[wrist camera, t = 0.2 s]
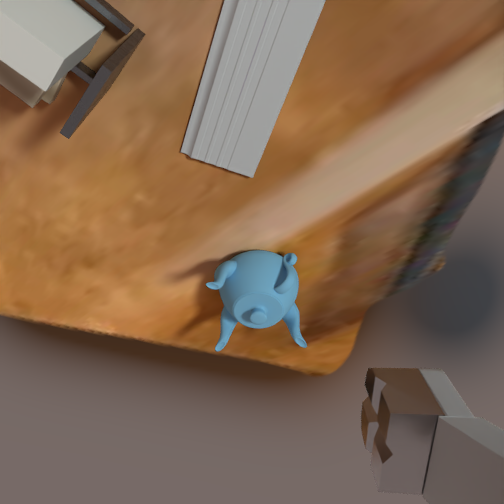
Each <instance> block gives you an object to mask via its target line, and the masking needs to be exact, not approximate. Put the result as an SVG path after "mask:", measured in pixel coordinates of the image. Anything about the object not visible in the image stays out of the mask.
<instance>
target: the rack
mask: <svg viewBox="0 0 504 504" xmlns="http://www.w3.org/2000/svg"><path fill="white" fill-rule="evenodd" d="M85 1H86V2H87V3H89V4H90V5H91V6H92V7H93V8H95V9H96V10H97V11H98V12H100V13H101V14H102V15H103V16H104V17H106V18H107V19H108V20H109V21H110V22H112V23H113V24H114V25H115V26H117V27H118V28H119V29H120V30H121V31H123V32H124V33H125V34H126V35H127V34H128V33H129V32H130V31H131V30H132V28H133V27H134V24H132V23H131V22H130V21H129V20H128V19H126V18H125V17H124V16H123V15H122V14H120V13H119V12H118V11H117V10H116V9H114V8H113V7H112V6H111V5H110V4H108V3H107V2H106V1H105V0H85ZM144 36H145V34H144V33H143V32H142V31H141V30H140V29H137V30H136V31H135V32H134V33H133V34H132V35H131V36H130V37H129V38H128V39H127V40H126V41H125V42H124V43H123V44H122V45H121V46H120V47H119V48H118V49H117V50H116V51H115V52H114V53H113V54H112V55H111V56H110V57H109V58H108V59H107V60H106V62H105V63H104V64H103V65H102V66H101V68H100V69H99V71H98V72H97V73H95V72H94V71H93V70H91V69H90V68H89V67H87V66H86V65H85V64H83V63H82V62H81V61H80V62H79V63H78V64H77V65H76V66H74V67H73V68H72V69H71V71H72V72H74V73H75V74H76V75H78V76H79V77H80V78H82V79H83V80H85V81H86V82H87V83H89V84H90V85H89V87H88V88H87V90H86V91H85V93H84V95H83V96H82V98H81V99H80V101H79V103H78V104H77V106H76V107H75V109H74V111H73V112H72V114H71V115H70V117H69V119H68V120H67V122H66V123H65V125H64V126H63V128H62V130H61V131H60V133H61V134H62V135H64V136H65V137H67V138H68V139H69V138H70V137H71V136H72V134H73V133H74V132H75V131H76V129H77V128H78V127H79V126H80V124H81V123H82V122H83V121H84V120H85V118H86V117H87V116H88V115H89V113H90V112H91V111H92V110H93V109H94V107H95V106H96V105H97V104H98V102H99V101H100V100H101V99H102V98H103V96H104V95H105V94H106V93H107V91H108V90H109V89H110V87H111V86H112V84H113V83H114V81H115V80H116V78H117V77H118V75H119V74H120V72H121V71H122V69H123V67H124V66H125V64H126V63H127V61H128V60H129V58H130V57H131V55H132V54H133V52H134V51H135V49H136V48H137V46H138V45H139V43H140V42H141V40H142V39H143V37H144Z"/></svg>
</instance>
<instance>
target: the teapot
mask: <svg viewBox="0 0 504 504" xmlns="http://www.w3.org/2000/svg"><path fill="white" fill-rule="evenodd" d="M296 261H297V257H296V255H295V254H293V253H288V254H286V255H285V256H284V257H282V256H280V255H278V254H276V253H273V252H270V251H264V250H252V251H247V252H244V253H241V254H239V255H236V256H235V257H233V258H232V259H230V260H229V261H225V262H223V263H221V264H220V265H219V266H218V267H217V269H216V271H215V274H214V282H208V283H206V286H207V287H208V288H210V289H214V290H217V289H219V292H220V296H221V299H222V301H223V304H224V308H223V310H222V313H221V334H220V338H219V341H218V343H217V345H216V347H215V351H220V350H222V349H223V348H224V347H225V345H226V344H227V342H228V340H229V338H230V335H231V333H232V331H233V329H234V327H235V325H236V324H237V322H240V323H241V324H243V325H245V326H247V327H251V328H266V327H270V326H272V325H274V324H276V323H277V322H278V321H280V320H281V319H283V320H284V322H285V323H286V324H287V326H288V329H289V331H290V334H291V336H292V337H293V339H294V341H295V342H296V343H297V344H298V345H300V346H301V347H304V348H305V347H307V344H306V342H305V341H304V339H303V338H302V336H301V333H300V328H299V311H298V308H297V306H296V304H295V303H294V302H295V299H296V296H297V293H298V286H299V281H298V275H297V272H296V270H295V269H294V267H293V266H292V265H294V264H295V263H296Z"/></svg>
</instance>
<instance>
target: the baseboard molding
mask: <svg viewBox="0 0 504 504" xmlns="http://www.w3.org/2000/svg"><path fill="white" fill-rule="evenodd" d="M325 1H326V0H224V4H223V7H222V11H221V14H220V17H219V21H218V24H217V28H216V31H215V35H214V38H213V42H212V45H211V49H210V52H209V55H208V59H207V62H206V66H205V69H204V73H203V76H202V80H201V83H200V87H199V90H198V93H197V97H196V100H195V104H194V107H193V111H192V114H191V118H190V121H189V125H188V128H187V131H186V135H185V138H184V142H183V145H182V149H181V152H182V153H185V154H187V155H189V156H190V157H191V158H194V159H198V160H201V161H204V162H206V163H210V164H213V165H216V166H218V167H222V168H225V169H227V170H230V171H233V172H236V173H239V174H243V175H246V176H249V177H252V178H253V176H254V173H255V171H256V168H257V166H258V164H259V161H260V159H261V156H262V154H263V151H264V149H265V147H266V144H267V142H268V139H269V137H270V134H271V132H272V130H273V127H274V125H275V122H276V120H277V117H278V115H279V112H280V110H281V108H282V105H283V103H284V100H285V98H286V95H287V93H288V91H289V88H290V86H291V83H292V81H293V78H294V76H295V74H296V71H297V69H298V66H299V64H300V61H301V59H302V57H303V54H304V52H305V49H306V47H307V44H308V42H309V39H310V37H311V35H312V32H313V30H314V27H315V25H316V22H317V20H318V18H319V15H320V13H321V10H322V8H323V5H324V3H325Z"/></svg>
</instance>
